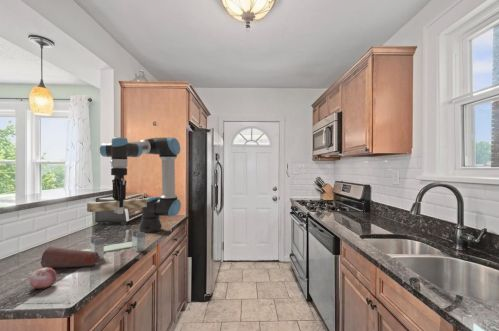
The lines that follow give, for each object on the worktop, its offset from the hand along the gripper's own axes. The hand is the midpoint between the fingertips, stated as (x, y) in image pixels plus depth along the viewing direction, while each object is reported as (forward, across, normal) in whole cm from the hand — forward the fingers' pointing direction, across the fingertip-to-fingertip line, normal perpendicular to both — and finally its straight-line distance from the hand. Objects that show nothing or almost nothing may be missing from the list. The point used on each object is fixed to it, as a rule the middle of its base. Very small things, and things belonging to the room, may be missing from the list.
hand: (118, 213), depth 143 cm
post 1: (+20, +1, -10) cm, 23 cm away
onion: (+20, +25, -35) cm, 47 cm away
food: (+21, +8, -23) cm, 32 cm away
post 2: (+20, +2, +10) cm, 23 cm away
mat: (+20, -10, 0) cm, 23 cm away
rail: (-2, 0, 0) cm, 2 cm away
